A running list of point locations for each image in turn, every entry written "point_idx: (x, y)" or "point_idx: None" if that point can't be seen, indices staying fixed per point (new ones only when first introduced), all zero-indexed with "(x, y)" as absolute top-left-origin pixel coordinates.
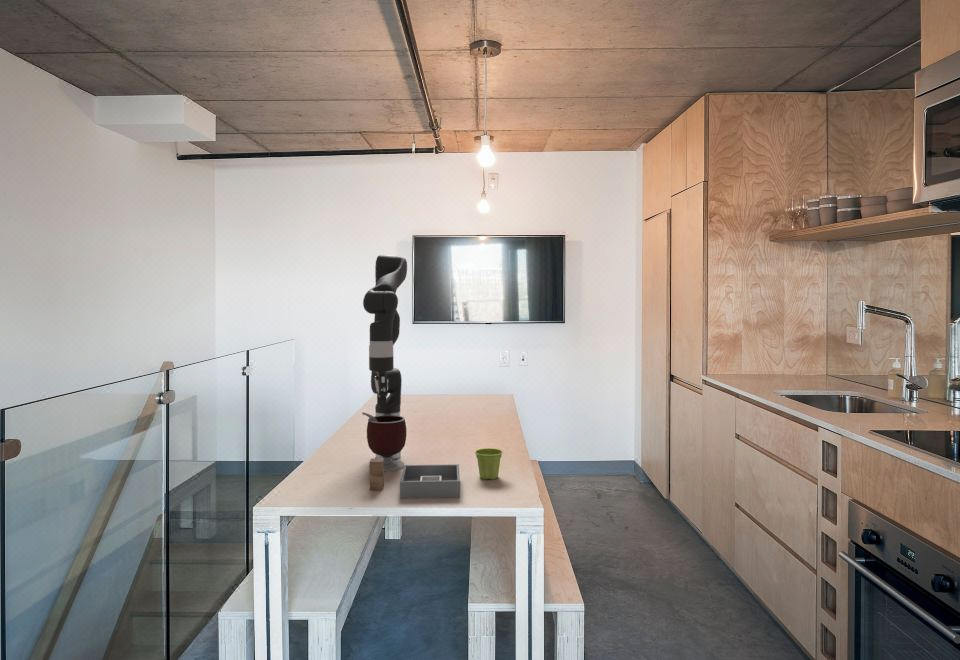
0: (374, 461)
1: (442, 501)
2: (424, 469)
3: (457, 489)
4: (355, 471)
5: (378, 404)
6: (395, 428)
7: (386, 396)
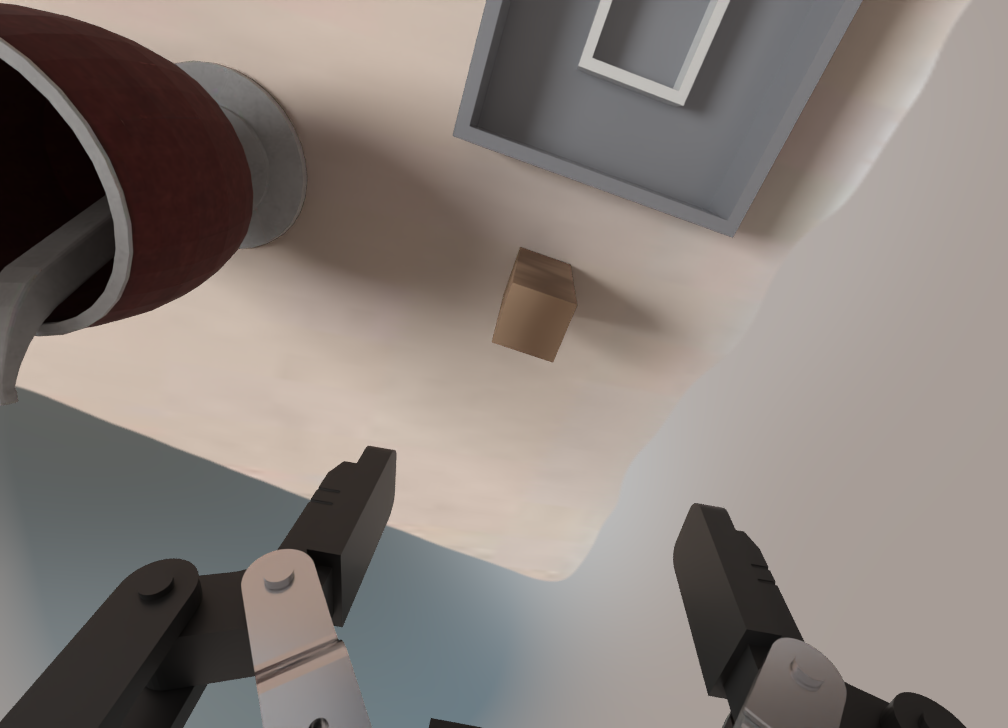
0: (554, 339)
1: (866, 32)
2: (502, 12)
3: None
4: (284, 312)
5: (393, 500)
6: (149, 145)
7: (822, 658)
